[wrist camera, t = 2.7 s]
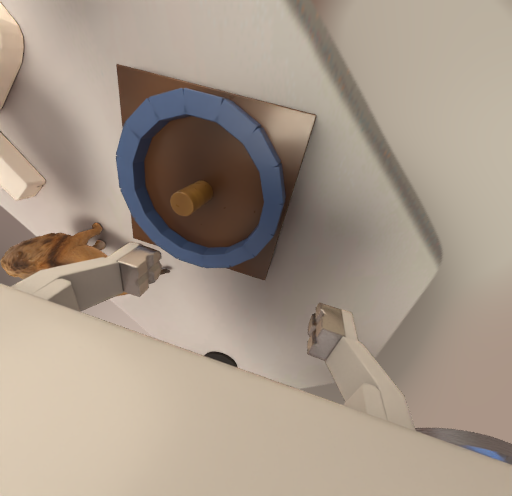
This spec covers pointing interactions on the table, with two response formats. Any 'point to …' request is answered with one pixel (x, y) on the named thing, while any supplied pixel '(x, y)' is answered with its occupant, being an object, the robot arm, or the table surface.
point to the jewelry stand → (3, 74)
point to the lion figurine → (53, 252)
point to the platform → (213, 167)
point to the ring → (237, 124)
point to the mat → (221, 358)
